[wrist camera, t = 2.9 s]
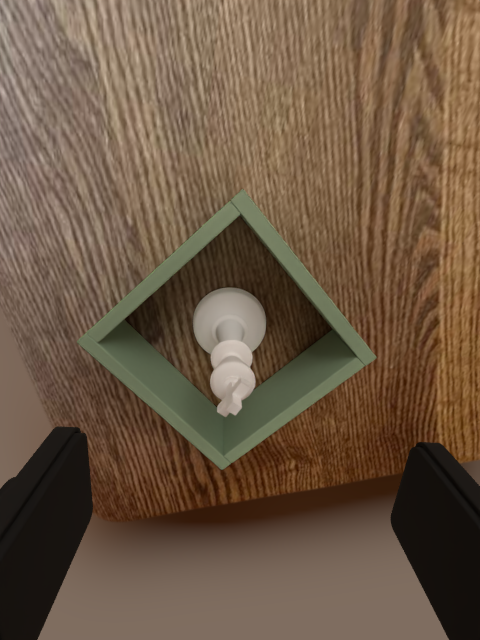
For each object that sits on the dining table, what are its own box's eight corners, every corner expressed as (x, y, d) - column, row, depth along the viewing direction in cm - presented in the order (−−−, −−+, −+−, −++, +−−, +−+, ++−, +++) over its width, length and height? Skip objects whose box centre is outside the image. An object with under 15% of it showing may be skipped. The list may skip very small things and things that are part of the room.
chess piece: (280, 314, 22) (323, 394, 13) (237, 368, 23) (247, 479, 14) (220, 272, 21) (218, 325, 12) (178, 331, 22) (144, 423, 13)
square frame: (104, 315, 22) (75, 342, 17) (238, 192, 20) (243, 188, 15) (222, 425, 25) (222, 470, 20) (348, 329, 23) (377, 358, 18)
